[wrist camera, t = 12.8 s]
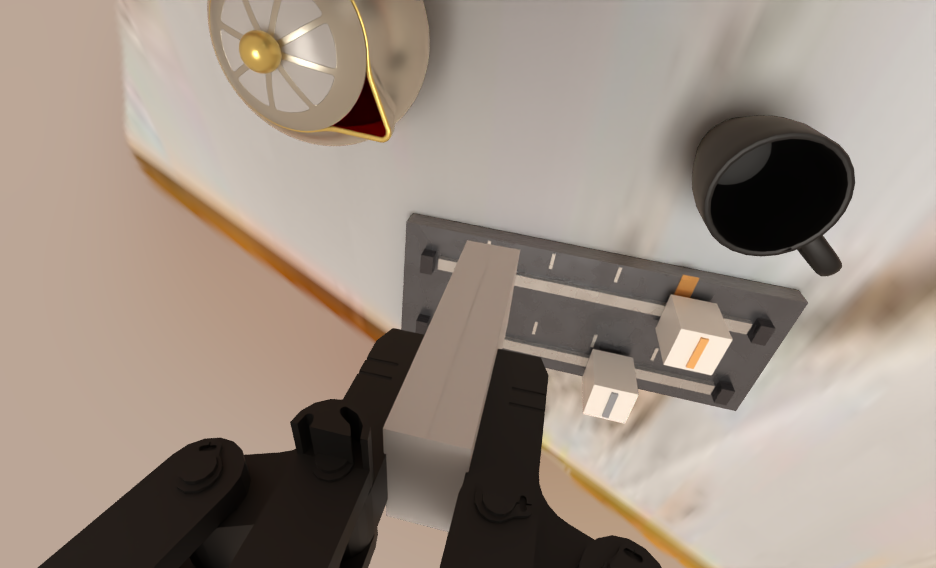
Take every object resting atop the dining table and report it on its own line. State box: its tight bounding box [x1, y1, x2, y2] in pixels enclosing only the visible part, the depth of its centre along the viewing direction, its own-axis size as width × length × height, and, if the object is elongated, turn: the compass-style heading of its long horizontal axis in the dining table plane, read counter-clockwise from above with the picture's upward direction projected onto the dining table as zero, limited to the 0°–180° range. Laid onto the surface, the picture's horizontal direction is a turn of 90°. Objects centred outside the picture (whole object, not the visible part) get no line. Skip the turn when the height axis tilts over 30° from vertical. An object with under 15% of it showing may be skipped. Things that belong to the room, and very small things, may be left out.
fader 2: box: [655, 294, 733, 375], centre depth 40 cm, size 4×4×5 cm
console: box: [401, 213, 808, 411], centre depth 46 cm, size 14×36×3 cm, turn 83°
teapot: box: [207, 0, 430, 146], centre depth 30 cm, size 18×14×16 cm
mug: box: [692, 115, 855, 276], centre depth 33 cm, size 8×12×10 cm
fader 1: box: [582, 349, 639, 424], centre depth 45 cm, size 4×4×5 cm
